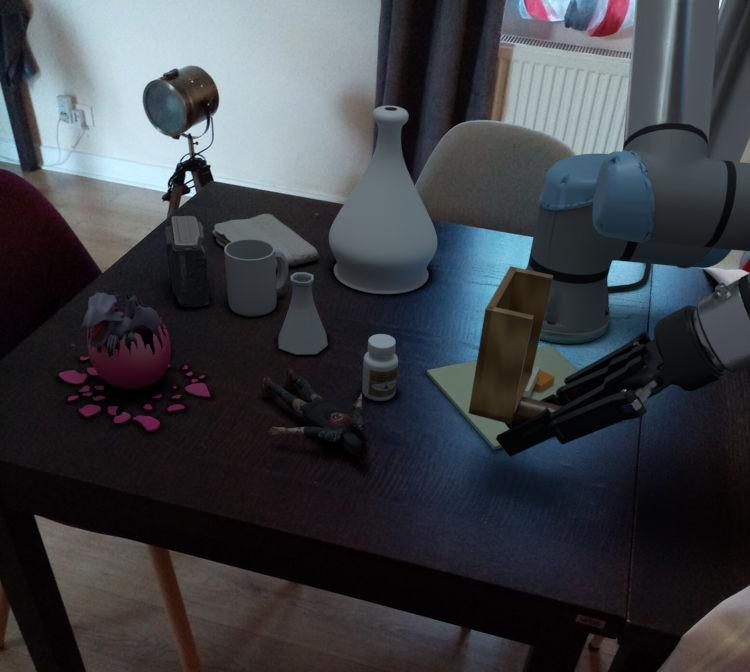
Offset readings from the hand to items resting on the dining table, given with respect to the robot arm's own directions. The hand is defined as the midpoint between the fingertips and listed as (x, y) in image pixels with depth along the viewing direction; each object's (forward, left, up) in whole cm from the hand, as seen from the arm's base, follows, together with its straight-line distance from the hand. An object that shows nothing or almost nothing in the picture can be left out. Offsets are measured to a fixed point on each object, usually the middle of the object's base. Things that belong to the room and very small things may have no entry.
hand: (507, 437), depth 87 cm
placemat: (-12, -13, -6) cm, 19 cm away
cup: (+13, -48, -6) cm, 50 cm away
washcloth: (+7, -66, -6) cm, 67 cm away
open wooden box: (+3, -3, +10) cm, 11 cm away
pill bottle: (+6, -20, -6) cm, 22 cm away
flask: (+11, -35, -6) cm, 37 cm away
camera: (+22, -55, -6) cm, 60 cm away
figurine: (+16, -15, -6) cm, 23 cm away
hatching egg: (+35, -32, -6) cm, 48 cm away
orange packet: (-14, -15, -4) cm, 21 cm away
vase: (-9, -52, -6) cm, 53 cm away
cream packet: (-11, -14, -3) cm, 18 cm away
